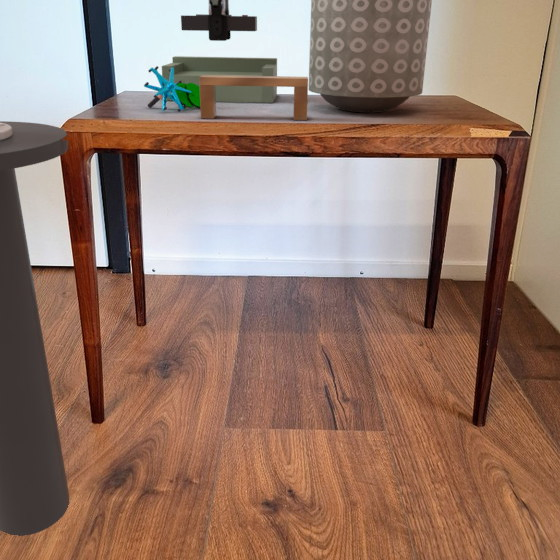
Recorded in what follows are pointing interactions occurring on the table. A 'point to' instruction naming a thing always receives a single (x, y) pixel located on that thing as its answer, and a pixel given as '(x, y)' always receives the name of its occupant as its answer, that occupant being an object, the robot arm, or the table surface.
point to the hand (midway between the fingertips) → (220, 38)
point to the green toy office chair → (174, 92)
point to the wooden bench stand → (276, 81)
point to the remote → (233, 23)
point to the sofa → (230, 66)
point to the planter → (368, 52)
